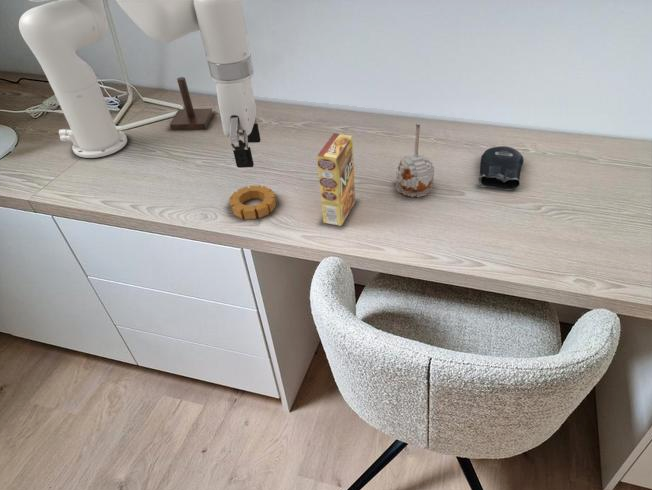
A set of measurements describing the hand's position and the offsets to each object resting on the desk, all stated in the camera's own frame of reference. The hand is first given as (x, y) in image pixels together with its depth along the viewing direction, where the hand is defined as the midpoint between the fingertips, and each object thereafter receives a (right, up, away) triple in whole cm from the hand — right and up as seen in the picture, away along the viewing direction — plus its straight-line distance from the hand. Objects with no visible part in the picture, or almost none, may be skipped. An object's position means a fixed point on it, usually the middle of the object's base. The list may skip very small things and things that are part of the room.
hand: (249, 153), depth 98 cm
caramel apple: (+34, -6, +8) cm, 35 cm away
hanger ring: (0, -10, +4) cm, 11 cm away
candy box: (+18, -12, +2) cm, 21 cm away
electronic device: (+54, -1, +13) cm, 55 cm away
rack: (-23, +17, +33) cm, 43 cm away
